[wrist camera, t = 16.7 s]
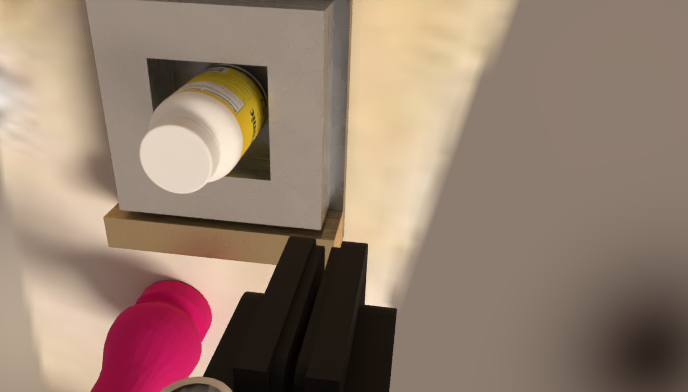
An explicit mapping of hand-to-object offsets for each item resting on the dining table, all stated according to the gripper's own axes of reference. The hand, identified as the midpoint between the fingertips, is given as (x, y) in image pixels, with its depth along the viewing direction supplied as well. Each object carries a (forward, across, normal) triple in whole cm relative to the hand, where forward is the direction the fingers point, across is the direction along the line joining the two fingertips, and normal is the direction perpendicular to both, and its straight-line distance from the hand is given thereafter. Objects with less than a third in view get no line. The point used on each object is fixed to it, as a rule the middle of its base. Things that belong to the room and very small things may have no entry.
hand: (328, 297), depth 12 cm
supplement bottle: (+26, +11, +5) cm, 29 cm away
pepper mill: (+27, +17, +24) cm, 40 cm away
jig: (+27, +11, +5) cm, 30 cm away
